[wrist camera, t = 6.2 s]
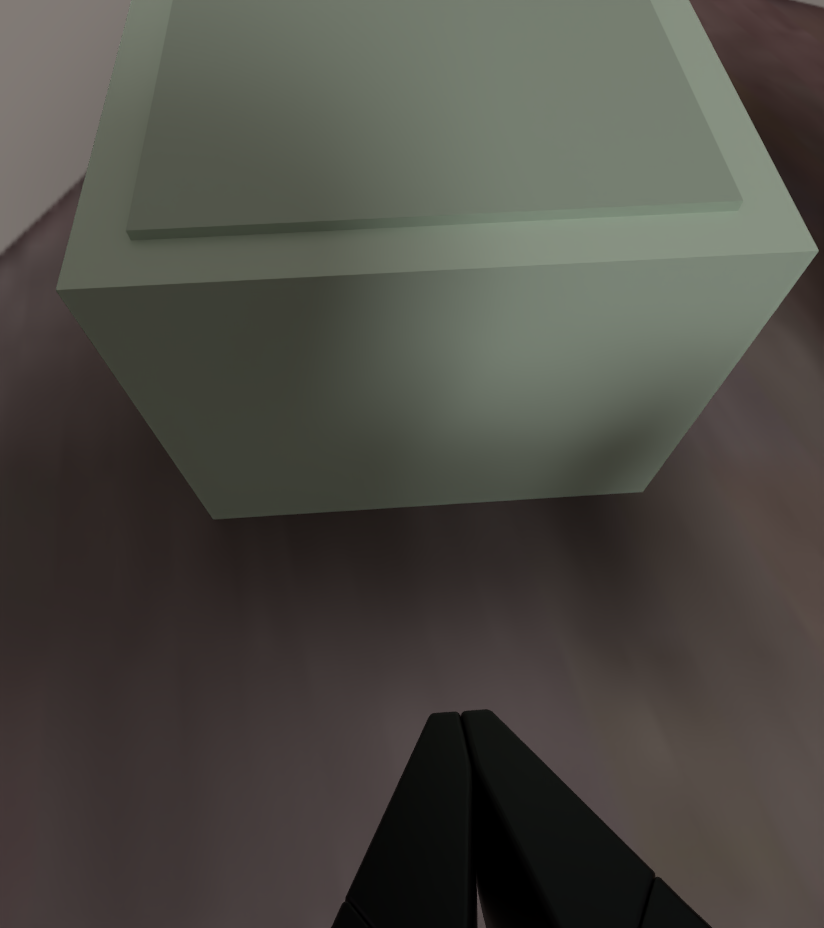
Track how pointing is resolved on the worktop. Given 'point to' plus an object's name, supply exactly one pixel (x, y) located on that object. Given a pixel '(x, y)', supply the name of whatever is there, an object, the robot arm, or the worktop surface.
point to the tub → (423, 245)
